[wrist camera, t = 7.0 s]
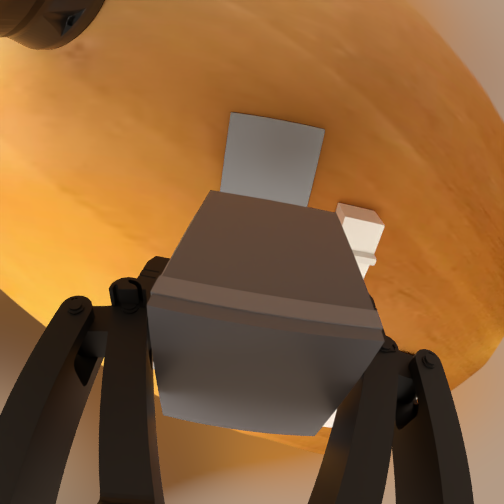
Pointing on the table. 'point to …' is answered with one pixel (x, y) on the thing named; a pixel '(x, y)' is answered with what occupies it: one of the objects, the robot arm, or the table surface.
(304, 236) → the grey block
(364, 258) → the power strip
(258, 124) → the mat
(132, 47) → the table surface
